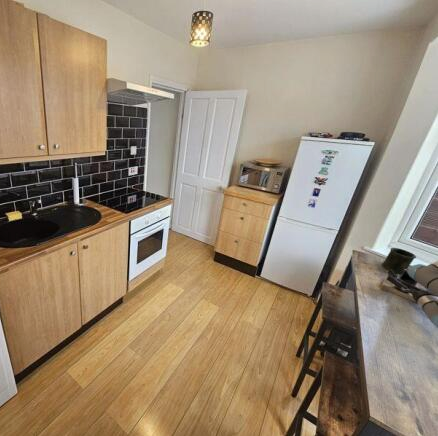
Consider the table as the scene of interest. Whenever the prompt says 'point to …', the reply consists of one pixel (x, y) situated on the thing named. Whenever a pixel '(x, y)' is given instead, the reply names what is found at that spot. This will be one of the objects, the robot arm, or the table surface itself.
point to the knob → (407, 278)
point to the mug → (398, 260)
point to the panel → (395, 290)
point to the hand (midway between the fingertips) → (405, 275)
